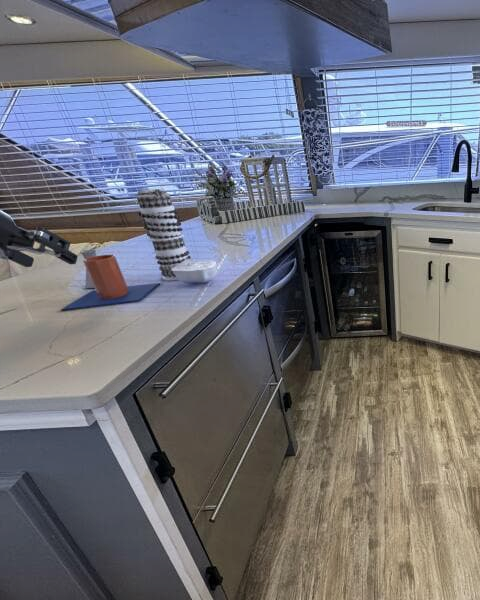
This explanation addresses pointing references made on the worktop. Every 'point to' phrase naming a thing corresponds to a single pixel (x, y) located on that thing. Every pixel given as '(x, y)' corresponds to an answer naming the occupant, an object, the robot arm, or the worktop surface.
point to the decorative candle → (163, 230)
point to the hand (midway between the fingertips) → (53, 261)
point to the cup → (106, 276)
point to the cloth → (94, 300)
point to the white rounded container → (195, 271)
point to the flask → (88, 280)
